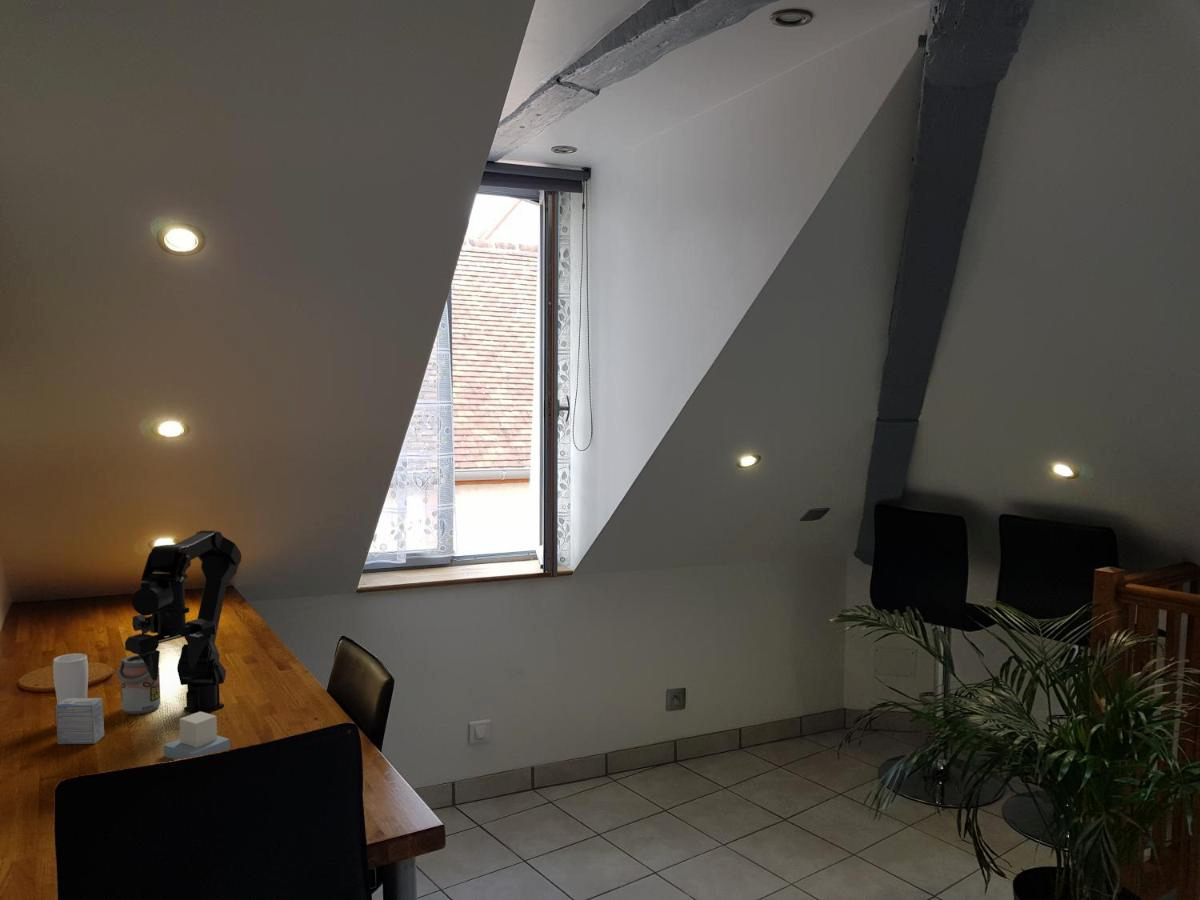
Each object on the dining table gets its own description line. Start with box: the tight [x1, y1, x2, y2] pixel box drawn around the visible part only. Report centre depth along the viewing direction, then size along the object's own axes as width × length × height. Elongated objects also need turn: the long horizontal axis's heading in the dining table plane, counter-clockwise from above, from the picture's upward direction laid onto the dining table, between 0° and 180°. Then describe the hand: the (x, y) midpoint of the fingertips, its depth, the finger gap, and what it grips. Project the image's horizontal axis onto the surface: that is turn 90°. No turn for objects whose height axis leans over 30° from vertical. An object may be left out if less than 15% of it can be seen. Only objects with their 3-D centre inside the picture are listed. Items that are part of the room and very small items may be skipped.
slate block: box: [163, 734, 231, 761], centre depth 202 cm, size 9×9×3 cm
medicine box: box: [55, 697, 105, 745], centre depth 208 cm, size 8×4×9 cm, turn 92°
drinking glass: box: [52, 653, 89, 705], centre depth 218 cm, size 7×7×15 cm
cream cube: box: [179, 711, 218, 748], centre depth 202 cm, size 5×5×5 cm
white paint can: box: [116, 654, 161, 715], centre depth 227 cm, size 9×8×12 cm
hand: (173, 674), depth 213 cm, fingers open, 9 cm apart
